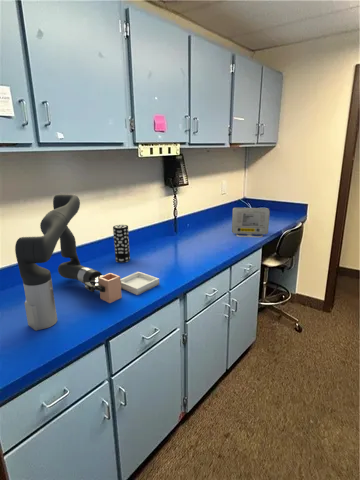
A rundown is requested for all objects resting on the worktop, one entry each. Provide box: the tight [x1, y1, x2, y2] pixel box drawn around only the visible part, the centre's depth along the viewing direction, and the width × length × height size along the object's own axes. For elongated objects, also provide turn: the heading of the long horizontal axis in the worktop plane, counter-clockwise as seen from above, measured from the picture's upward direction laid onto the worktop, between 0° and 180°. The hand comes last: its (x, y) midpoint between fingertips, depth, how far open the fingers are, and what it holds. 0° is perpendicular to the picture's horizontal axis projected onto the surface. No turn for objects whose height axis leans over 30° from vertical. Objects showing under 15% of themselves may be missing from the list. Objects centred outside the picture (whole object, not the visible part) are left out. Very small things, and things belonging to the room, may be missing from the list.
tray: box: [120, 271, 160, 296], centre depth 144 cm, size 14×14×3 cm
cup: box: [98, 272, 123, 304], centre depth 131 cm, size 6×6×10 cm
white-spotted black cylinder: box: [112, 224, 131, 264], centre depth 174 cm, size 8×8×20 cm
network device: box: [231, 207, 271, 238], centre depth 220 cm, size 26×9×20 cm, turn 82°
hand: (112, 286), depth 130 cm, fingers open, 8 cm apart
